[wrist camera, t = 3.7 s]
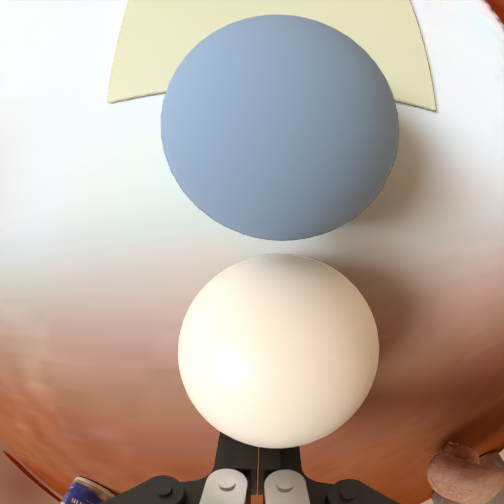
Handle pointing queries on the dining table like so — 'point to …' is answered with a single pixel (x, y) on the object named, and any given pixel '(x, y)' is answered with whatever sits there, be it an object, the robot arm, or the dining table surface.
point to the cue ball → (278, 350)
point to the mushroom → (464, 475)
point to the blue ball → (279, 127)
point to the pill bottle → (86, 492)
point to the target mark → (257, 4)
